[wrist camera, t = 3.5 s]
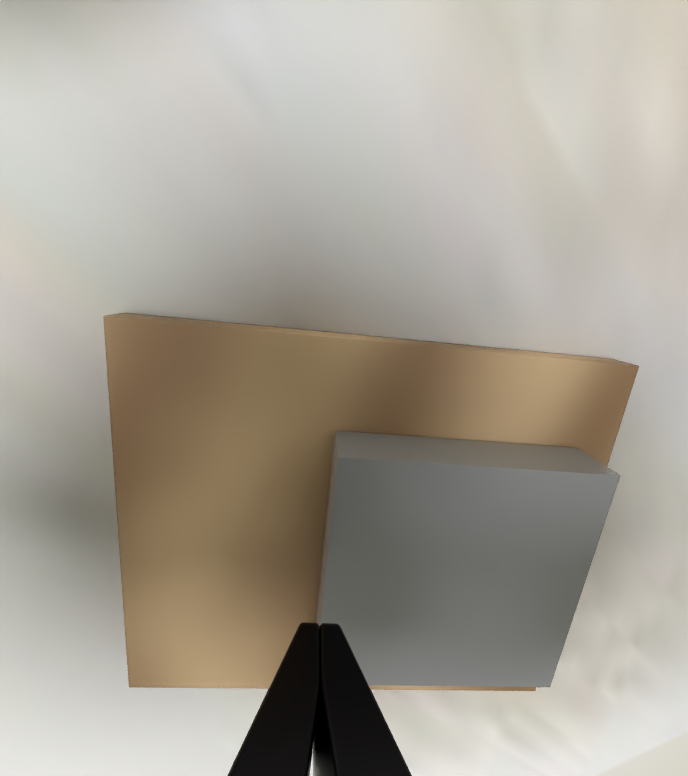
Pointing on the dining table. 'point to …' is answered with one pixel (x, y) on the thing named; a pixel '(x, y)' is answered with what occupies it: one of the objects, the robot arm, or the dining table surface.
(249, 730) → the robot arm
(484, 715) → the dining table surface
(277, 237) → the dining table surface
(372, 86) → the dining table surface
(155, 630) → the board
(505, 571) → the tile
